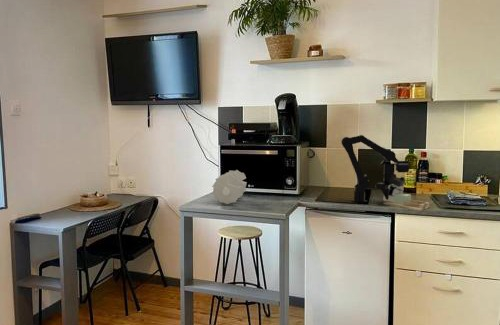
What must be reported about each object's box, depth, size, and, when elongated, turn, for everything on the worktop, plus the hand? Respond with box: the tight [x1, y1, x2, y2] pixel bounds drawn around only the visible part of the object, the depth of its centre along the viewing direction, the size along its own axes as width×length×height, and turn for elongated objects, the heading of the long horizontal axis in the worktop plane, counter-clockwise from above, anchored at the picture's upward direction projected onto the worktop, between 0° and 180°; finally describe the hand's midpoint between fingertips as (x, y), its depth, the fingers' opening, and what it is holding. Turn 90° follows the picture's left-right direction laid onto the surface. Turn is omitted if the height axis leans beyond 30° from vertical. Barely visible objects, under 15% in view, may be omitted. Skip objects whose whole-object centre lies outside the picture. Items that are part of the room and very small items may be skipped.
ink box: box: [392, 185, 404, 196], centre depth 236 cm, size 9×5×12 cm, turn 62°
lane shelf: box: [382, 199, 431, 212], centre depth 215 cm, size 12×21×3 cm, turn 40°
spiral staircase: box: [212, 169, 248, 205], centre depth 232 cm, size 18×18×25 cm
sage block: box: [383, 192, 412, 204], centre depth 220 cm, size 5×15×5 cm, turn 40°
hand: (388, 199), depth 224 cm, fingers closed on sage block, 2 cm apart
